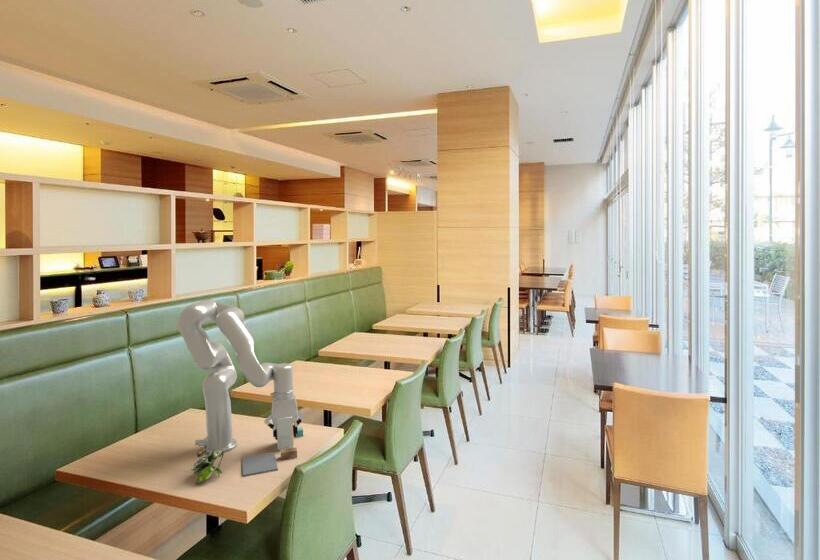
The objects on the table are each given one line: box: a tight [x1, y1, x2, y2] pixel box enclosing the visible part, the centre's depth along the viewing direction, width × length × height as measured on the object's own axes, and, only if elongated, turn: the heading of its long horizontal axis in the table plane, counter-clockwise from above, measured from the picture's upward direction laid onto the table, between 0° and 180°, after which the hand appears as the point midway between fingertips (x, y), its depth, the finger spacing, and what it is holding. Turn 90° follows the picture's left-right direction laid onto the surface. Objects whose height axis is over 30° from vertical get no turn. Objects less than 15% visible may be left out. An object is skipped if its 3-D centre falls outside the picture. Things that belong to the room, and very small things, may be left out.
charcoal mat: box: [241, 452, 279, 477], centre depth 176 cm, size 12×14×1 cm
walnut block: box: [280, 447, 298, 461], centre depth 182 cm, size 6×3×3 cm, turn 108°
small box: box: [276, 416, 295, 451], centre depth 192 cm, size 8×6×13 cm
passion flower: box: [190, 449, 225, 485], centre depth 168 cm, size 11×11×12 cm
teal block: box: [294, 427, 304, 439], centre depth 201 cm, size 6×3×3 cm, turn 111°
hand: (285, 436), depth 192 cm, fingers closed on small box, 6 cm apart
